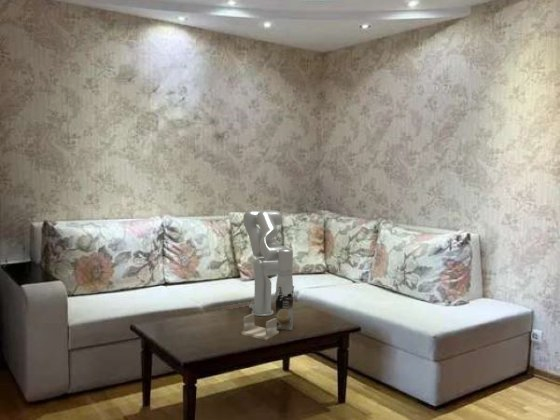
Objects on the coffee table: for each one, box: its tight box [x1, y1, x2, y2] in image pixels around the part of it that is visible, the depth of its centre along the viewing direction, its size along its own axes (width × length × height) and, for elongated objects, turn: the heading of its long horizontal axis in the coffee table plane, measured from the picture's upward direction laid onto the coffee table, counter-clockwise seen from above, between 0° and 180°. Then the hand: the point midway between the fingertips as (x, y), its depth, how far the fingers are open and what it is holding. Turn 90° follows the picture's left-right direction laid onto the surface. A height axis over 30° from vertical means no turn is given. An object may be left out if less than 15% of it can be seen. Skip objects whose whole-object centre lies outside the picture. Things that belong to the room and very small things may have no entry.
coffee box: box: [274, 295, 295, 331], centre depth 262 cm, size 9×6×16 cm
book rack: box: [240, 313, 280, 341], centre depth 252 cm, size 15×12×8 cm
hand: (284, 305), depth 262 cm, fingers open, 9 cm apart
